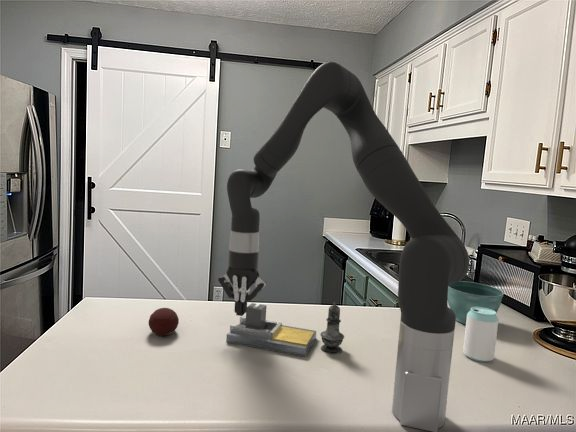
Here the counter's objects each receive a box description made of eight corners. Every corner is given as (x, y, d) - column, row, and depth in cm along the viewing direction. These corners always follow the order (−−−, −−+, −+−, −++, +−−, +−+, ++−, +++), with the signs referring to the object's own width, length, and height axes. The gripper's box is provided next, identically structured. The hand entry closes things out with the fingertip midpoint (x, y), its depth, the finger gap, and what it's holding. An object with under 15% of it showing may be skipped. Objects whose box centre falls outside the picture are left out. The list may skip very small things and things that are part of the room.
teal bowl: (511, 329, 125) (516, 294, 124) (470, 333, 119) (475, 297, 118) (470, 311, 140) (473, 280, 139) (432, 314, 134) (435, 282, 133)
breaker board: (304, 356, 97) (305, 342, 96) (225, 342, 102) (226, 328, 102) (315, 338, 108) (316, 325, 108) (244, 325, 114) (244, 313, 113)
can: (475, 364, 99) (481, 315, 98) (456, 351, 106) (461, 306, 104) (500, 362, 101) (506, 314, 99) (479, 350, 107) (484, 305, 106)
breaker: (259, 333, 104) (261, 309, 103) (245, 330, 105) (246, 306, 104) (265, 327, 108) (266, 304, 107) (250, 325, 109) (252, 302, 108)
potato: (145, 340, 100) (146, 315, 100) (151, 325, 110) (152, 302, 110) (176, 340, 102) (177, 316, 101) (180, 325, 111) (180, 302, 111)
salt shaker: (315, 350, 101) (319, 302, 100) (324, 342, 106) (328, 296, 105) (338, 356, 98) (342, 307, 97) (346, 348, 103) (350, 301, 102)
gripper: (213, 248, 103) (210, 315, 105) (263, 254, 100) (259, 323, 102) (226, 243, 111) (223, 306, 112) (273, 249, 107) (269, 314, 109)
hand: (240, 314), depth 107 cm, fingers closed
